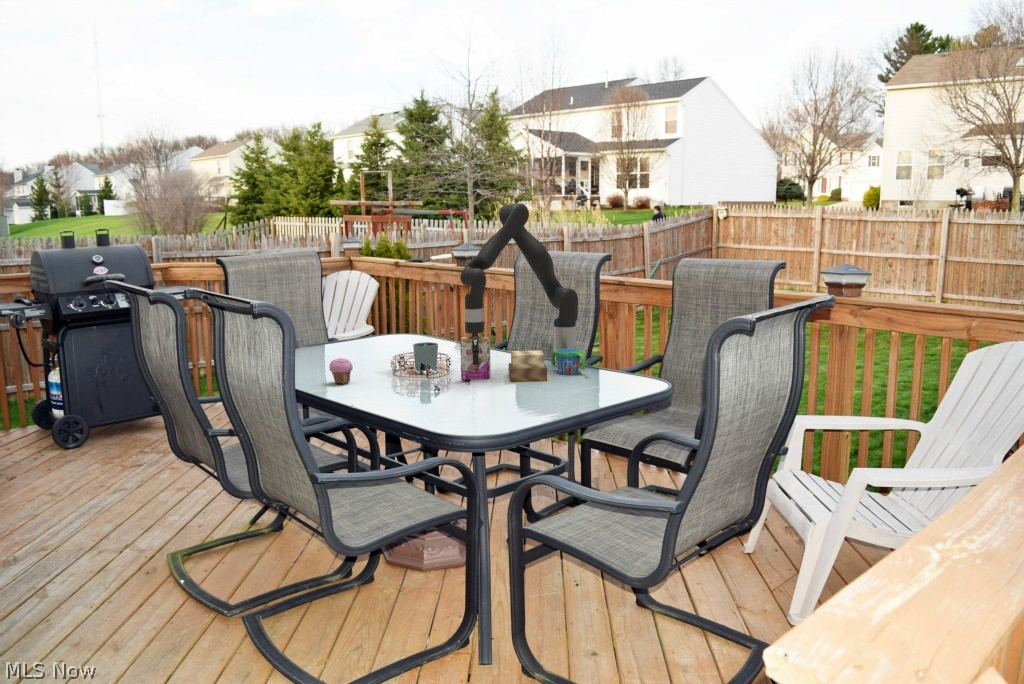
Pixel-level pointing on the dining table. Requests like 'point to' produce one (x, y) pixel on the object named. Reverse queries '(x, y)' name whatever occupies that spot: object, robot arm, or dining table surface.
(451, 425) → the dining table surface
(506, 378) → the sage mat
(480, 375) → the candy bar box
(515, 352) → the maple block
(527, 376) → the walnut block
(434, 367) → the grey green cup
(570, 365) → the snack cup
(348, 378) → the cupcake
